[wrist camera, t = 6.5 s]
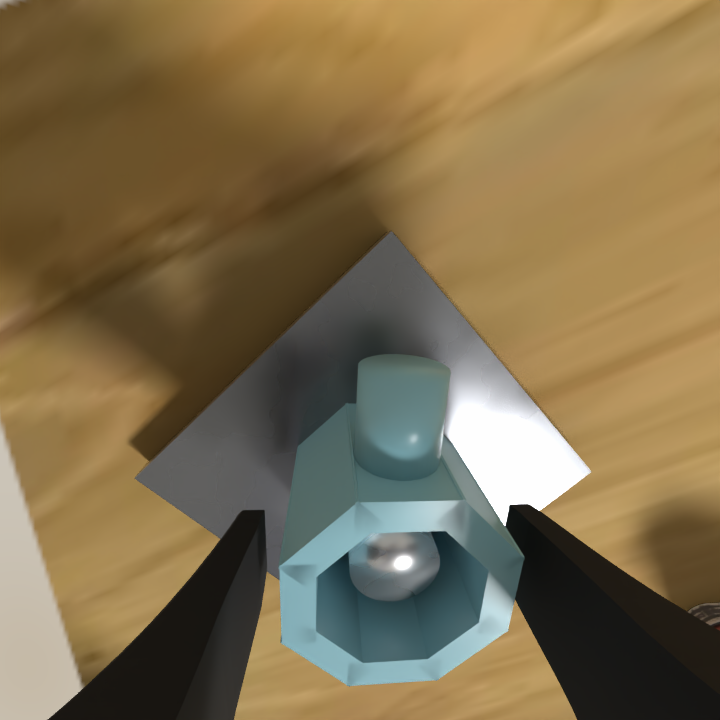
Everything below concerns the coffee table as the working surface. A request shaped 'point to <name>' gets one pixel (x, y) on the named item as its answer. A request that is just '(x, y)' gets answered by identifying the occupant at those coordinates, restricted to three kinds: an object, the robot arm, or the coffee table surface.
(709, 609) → the lighter
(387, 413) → the elbow collar
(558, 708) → the coffee table surface
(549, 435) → the base
